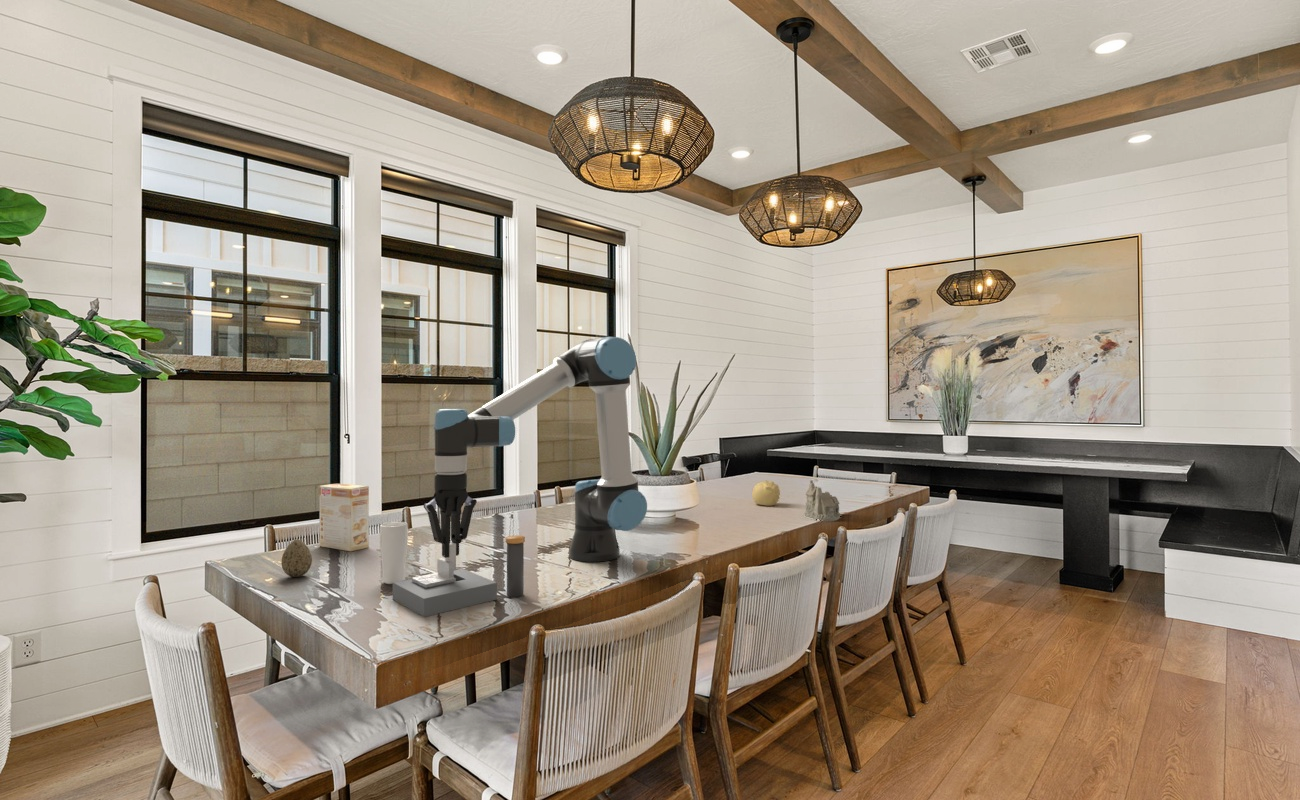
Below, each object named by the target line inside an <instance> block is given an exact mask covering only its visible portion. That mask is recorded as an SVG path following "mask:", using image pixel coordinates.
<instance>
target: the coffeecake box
mask: <svg viewBox="0 0 1300 800" xmlns="http://www.w3.org/2000/svg"><path fill="white" fill-rule="evenodd" d="M369 487H370V486H369V485H358V484H357V485H356V484H347V483H330V484H324V485H319V490H318V491H319V547H320V546H321V548H328V549H334V550H340V551H346V552H354V551H358V550H363V549H367V548H370V546H369V545H370V544H369V543H370V541H369V540H370V536H369V534H370V533H369V532H370V531H369V530H370V527H369V526H370V521H369V519H370V517H369V516H370V515H369V514H370V513H369V511H370V508H369V507H370V505H369V502H370V501H369V500H370V499H369V498H370V497H369V496H370V495H369V494H370V493H369V491H370V489H369Z"/></svg>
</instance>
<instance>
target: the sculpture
mask: <svg viewBox="0 0 1300 800" xmlns="http://www.w3.org/2000/svg"><path fill="white" fill-rule="evenodd" d="M751 494H752V495H751V496H752V500H753V502H754V503H755V504H756V505H761V506H766V507H773V506H775V505H777V504H778V502H779V500H780V496H781V491H780V487H779V485H778V484H776V483H775V482H774V481H772V480H771V481H770V480H765V481H760V482H758V483H756V484H755V485H754V487H753V489H752V493H751Z"/></svg>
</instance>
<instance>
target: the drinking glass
mask: <svg viewBox="0 0 1300 800" xmlns="http://www.w3.org/2000/svg"><path fill="white" fill-rule="evenodd" d="M408 527H409V526H408V522H405V521H391V522H389V521H388V522H383V523H381V524H380V525H379V545H380V546H379V548H380V556H381V557H380V559H381V568H382V582H383V583H384V584H385V585H393V582H397V581H402V580H406V562H407V552H408V551H407V550H408V543H409V542H408V540H409V537H408V535H409V531H408Z"/></svg>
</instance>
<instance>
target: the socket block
mask: <svg viewBox="0 0 1300 800" xmlns="http://www.w3.org/2000/svg"><path fill="white" fill-rule="evenodd" d="M454 578H456V582H451V583H447V584H442V585H437V586H432V587H428V588H424V587H422V586H420V585H418V584H416V583H414V582H412V578H409V579H405V580H402V581H397V582H393V584H392V600H393V601H395V602H397V603H398V604H400V605H401V606H404V607H406V608H408V609H410V610H411V611H413V612H414V613H416V614H418V615H420V616H421V617H423V618H424V617H430V616H435V615H438V614H442V613H446V612H451V611H455V610H459V609H462V608H467V607H470V606H476V605H479V604H482V603H483V604H484V603H488V602H491V601H495V600H498V582H497V581H494V580H492V579H489V578H487V577H484V576H482V575H479V574H477V573H474V572H472V571H470V570H467V569H465V568H458V569H456V571H454Z"/></svg>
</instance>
